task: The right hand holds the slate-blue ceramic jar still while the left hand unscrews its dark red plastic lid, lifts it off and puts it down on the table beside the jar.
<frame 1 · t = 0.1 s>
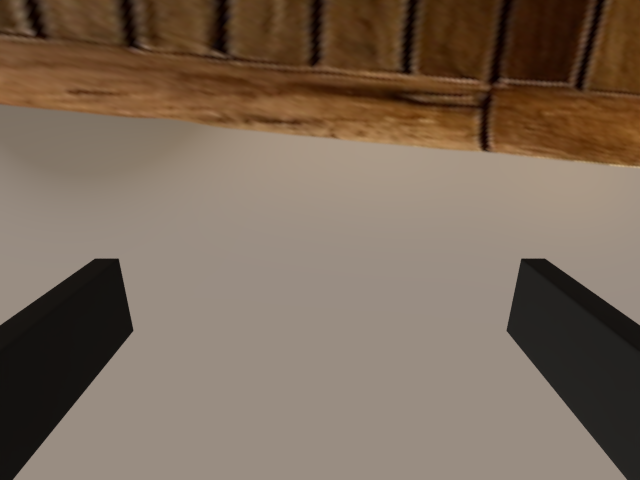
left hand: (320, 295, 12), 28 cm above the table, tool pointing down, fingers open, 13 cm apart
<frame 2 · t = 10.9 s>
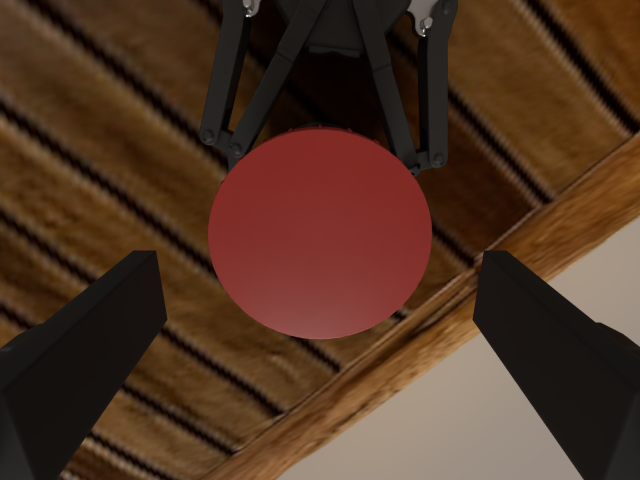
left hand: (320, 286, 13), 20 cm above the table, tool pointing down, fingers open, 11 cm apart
right hand: (314, 251, 28), fingers closed on jar, 9 cm apart
lid: (319, 242, 17), point 16 cm above the table, screwed on, not yet turned
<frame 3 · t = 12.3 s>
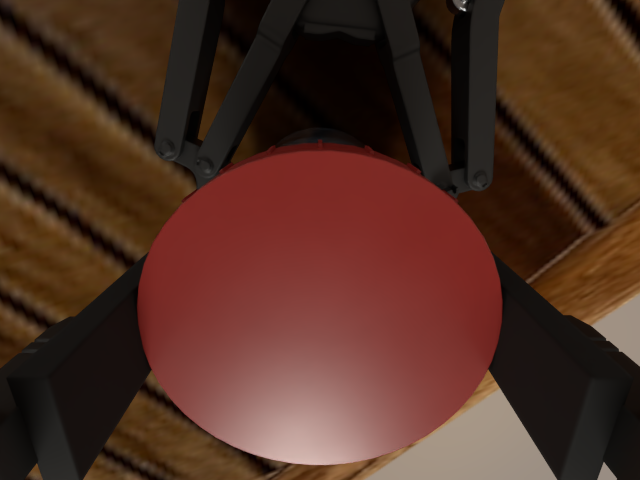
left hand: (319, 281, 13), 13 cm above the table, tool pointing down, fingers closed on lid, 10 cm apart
lid: (319, 327, 11), point 16 cm above the table, screwed on, not yet turned, touching left hand
jar: (319, 194, 26), on the table, touching right hand
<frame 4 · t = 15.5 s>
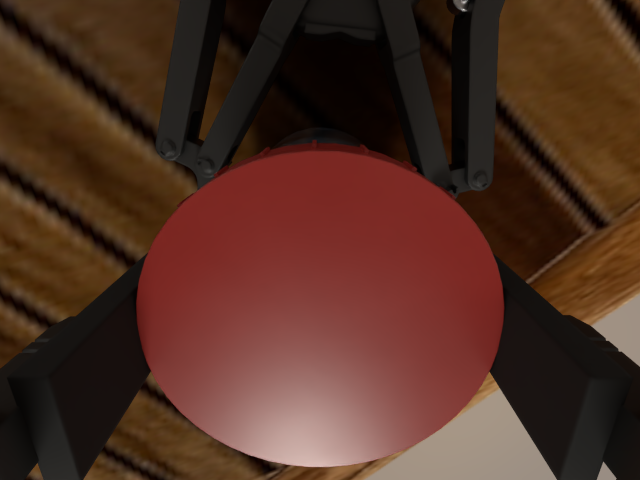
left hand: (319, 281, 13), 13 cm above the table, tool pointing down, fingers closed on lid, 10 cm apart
lid: (320, 328, 11), point 16 cm above the table, turned 88° so far, risen 0.1 cm, still on its thread, touching left hand
jar: (320, 194, 26), on the table, touching right hand
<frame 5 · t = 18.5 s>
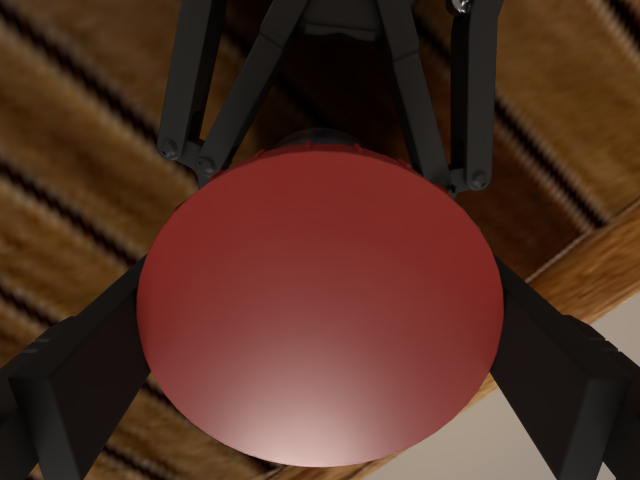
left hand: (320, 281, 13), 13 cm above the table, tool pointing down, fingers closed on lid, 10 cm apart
lid: (320, 328, 11), point 16 cm above the table, turned 176° so far, risen 0.3 cm, still on its thread, touching left hand
jar: (320, 193, 26), on the table, touching right hand
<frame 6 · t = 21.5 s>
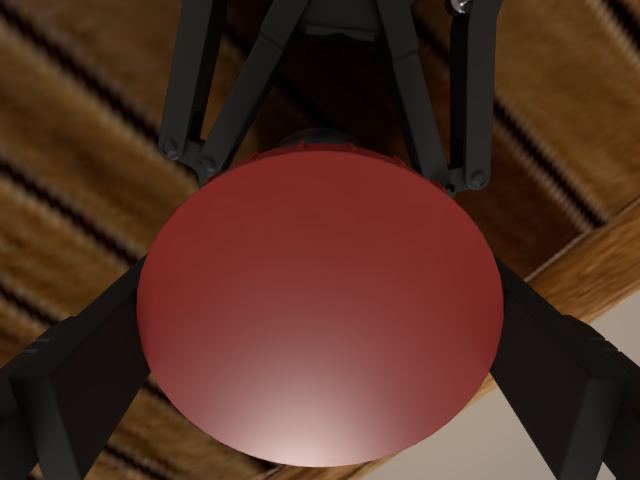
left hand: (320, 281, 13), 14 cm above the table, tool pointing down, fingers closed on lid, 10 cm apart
lid: (320, 328, 11), point 16 cm above the table, turned 265° so far, risen 0.4 cm, still on its thread, touching left hand
jar: (320, 193, 26), on the table, touching right hand
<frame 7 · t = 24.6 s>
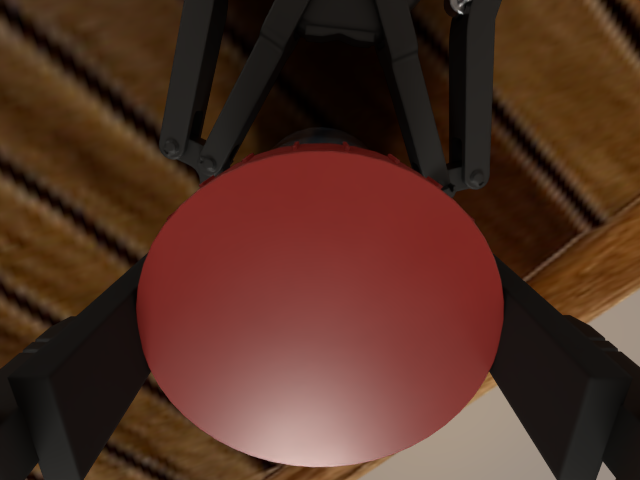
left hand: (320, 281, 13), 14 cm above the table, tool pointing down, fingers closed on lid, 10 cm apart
lid: (320, 328, 11), point 17 cm above the table, turned 353° so far, risen 0.5 cm, still on its thread, touching left hand
jar: (320, 192, 26), on the table, touching right hand
when the left hand's fingers open (0 cm above the table, at t = 30.9 s): lid drops 2 cm, point 1 cm above the table.
when the right hand's fingers open (6 cm above the table, at t = 31.9 s): jar stays where it is, on the table.
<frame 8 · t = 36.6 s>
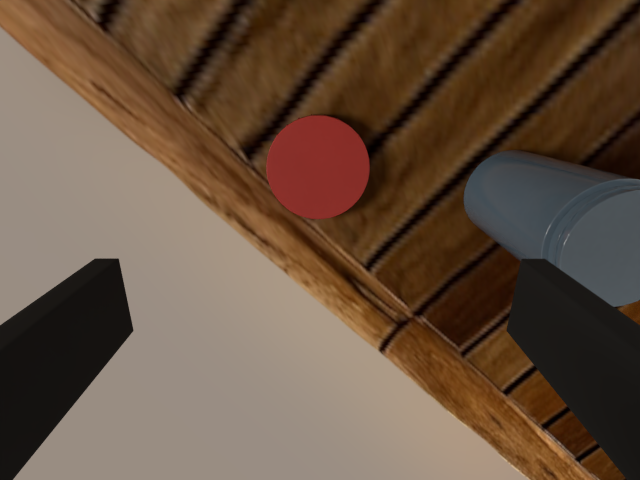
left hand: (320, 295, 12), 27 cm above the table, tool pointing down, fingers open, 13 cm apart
lid: (318, 169, 37), point 1 cm above the table, off its thread
jar: (506, 193, 39), on the table
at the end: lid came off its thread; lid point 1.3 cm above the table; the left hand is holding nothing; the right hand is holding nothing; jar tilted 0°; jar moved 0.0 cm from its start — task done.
